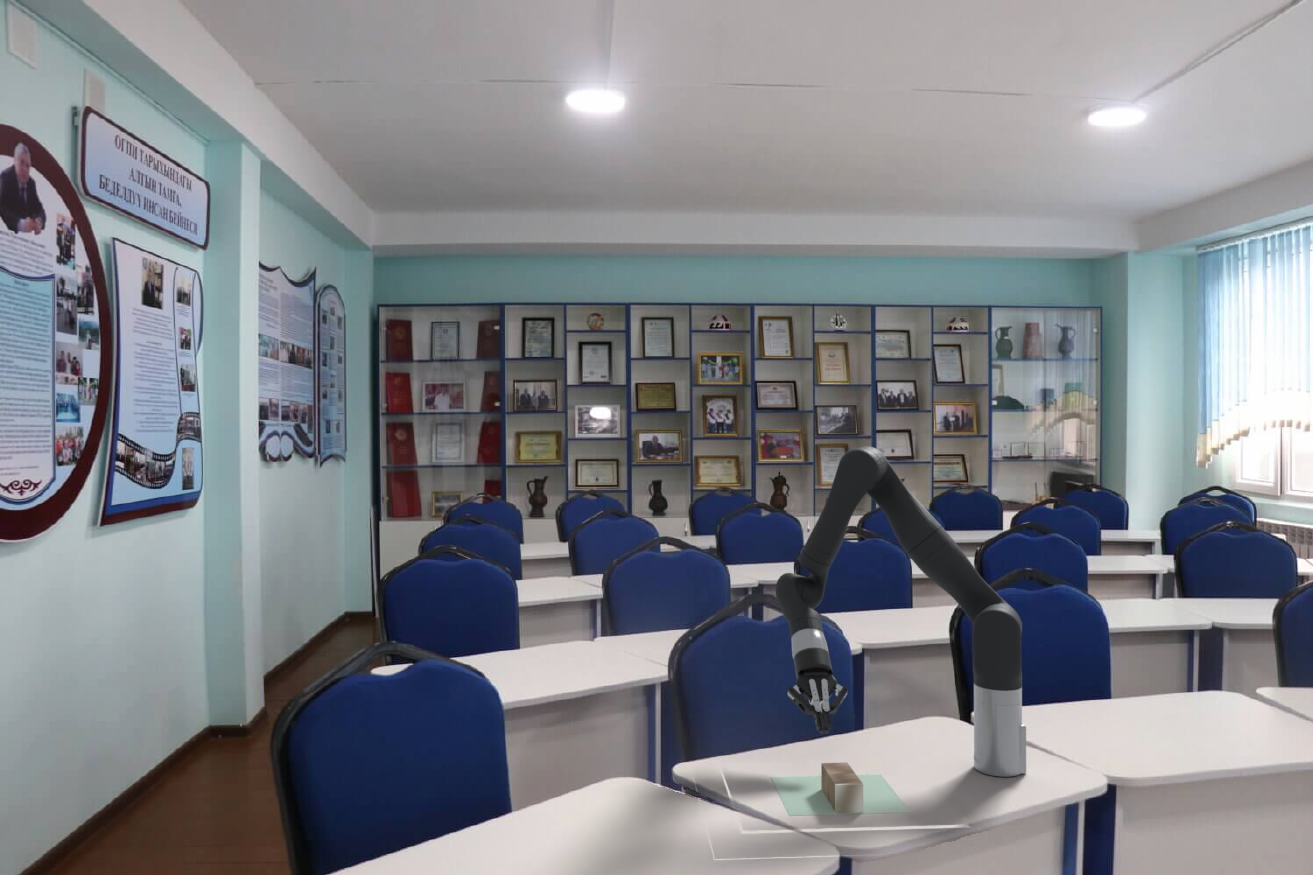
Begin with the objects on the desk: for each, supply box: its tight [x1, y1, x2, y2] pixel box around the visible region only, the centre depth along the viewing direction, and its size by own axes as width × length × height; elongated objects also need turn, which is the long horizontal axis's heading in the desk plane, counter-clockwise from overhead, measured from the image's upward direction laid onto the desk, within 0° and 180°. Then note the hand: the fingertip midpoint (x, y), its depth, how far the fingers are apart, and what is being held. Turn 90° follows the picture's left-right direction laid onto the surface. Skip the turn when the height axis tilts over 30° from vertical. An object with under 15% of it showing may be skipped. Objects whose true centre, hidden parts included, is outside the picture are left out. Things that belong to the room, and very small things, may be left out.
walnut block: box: [820, 762, 863, 813], centre depth 179 cm, size 5×5×11 cm
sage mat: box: [770, 773, 912, 817], centre depth 182 cm, size 22×19×1 cm
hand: (825, 731), depth 192 cm, fingers closed
